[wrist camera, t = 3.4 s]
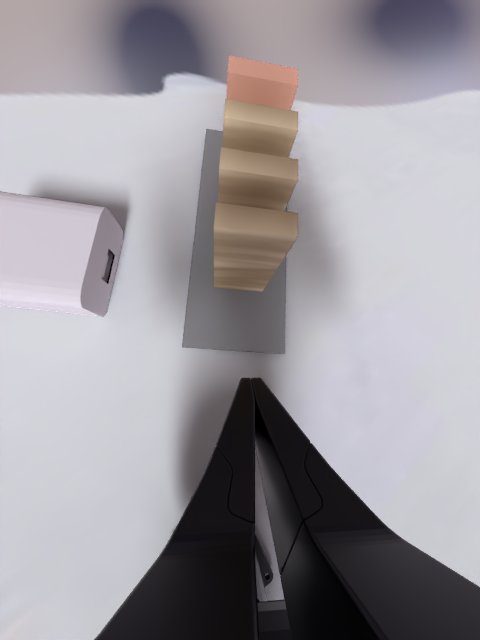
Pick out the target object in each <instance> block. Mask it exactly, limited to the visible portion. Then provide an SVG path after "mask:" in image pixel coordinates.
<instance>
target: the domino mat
mask: <svg viewBox="0 0 480 640" xmlns="http://www.w3.org/2000/svg"><path fill="white" fill-rule="evenodd" d="M221 147H222V148H223V132H222V131H216V130H210V129H206V137H205V146H204V155H203V164H202V173H201V182H200V191H199V200H198V209H197V217H196V226H195V235H194V244H193V253H192V262H191V271H190V280H189V289H188V298H187V307H186V316H185V325H184V334H183V343H182V347H186V348H201V349H217V350H232V351H247V352H263V353H278V354H285V303H286V256H285V257H284V259H283V261H282V262H281V264H280V265H279V267H278V268H277V270H276V271H275V273H274V274H273V276H272V278H271V279H270V281H269V282H268V284H267V285H266V287H265V288H264V290H263V291H262V292H259V291H248V290H237V289H227V288H216V287H214V219H215V208H216V202H217V203H218V191H219V164H220V153H221ZM284 211H285V212H287V206H286V208H285V210H284Z"/></svg>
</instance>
